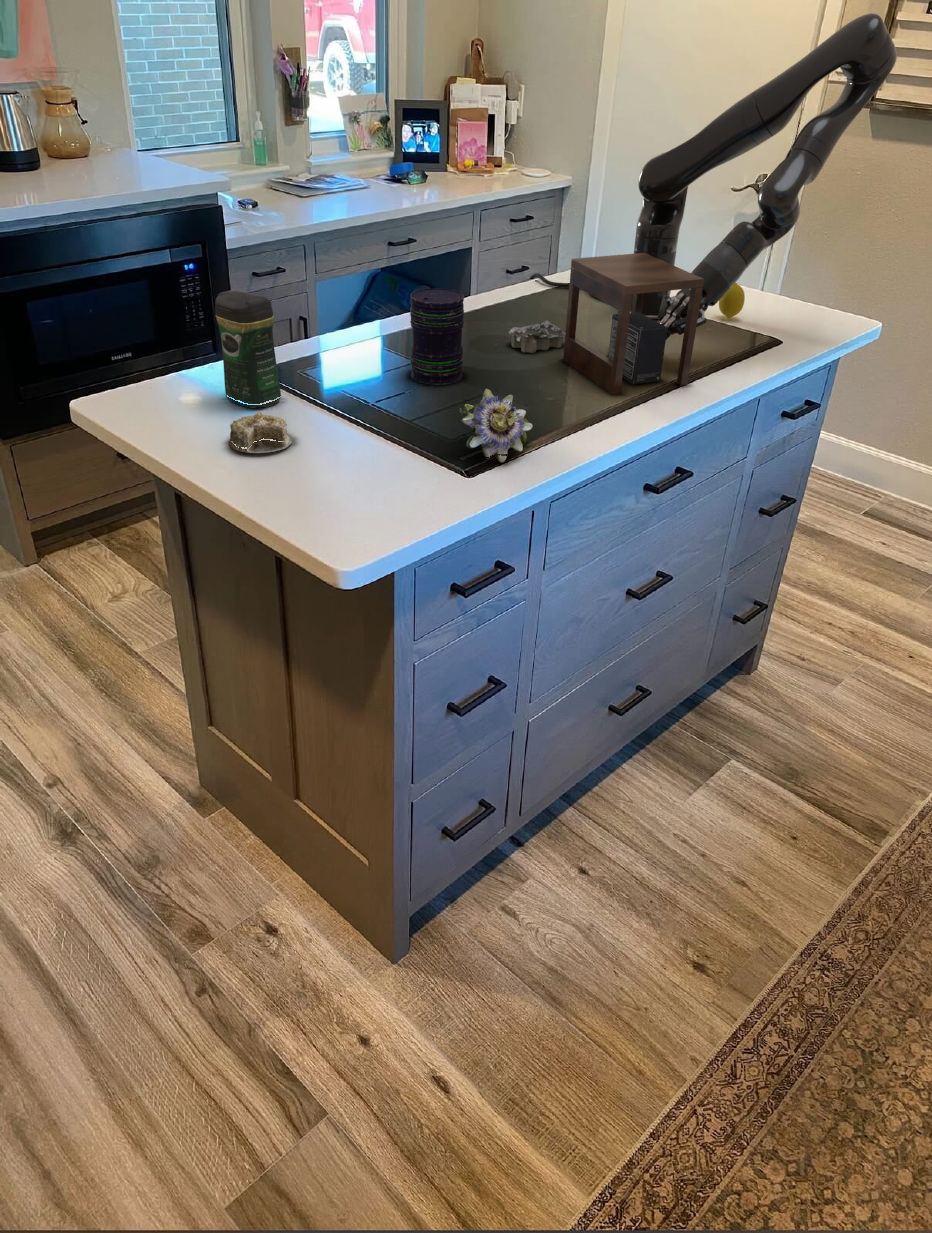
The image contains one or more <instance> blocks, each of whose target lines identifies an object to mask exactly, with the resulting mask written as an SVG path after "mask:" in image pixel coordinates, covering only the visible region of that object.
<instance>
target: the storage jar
mask: <svg viewBox="0 0 932 1233" xmlns="http://www.w3.org/2000/svg"><path fill="white" fill-rule="evenodd" d="M410 301H411V302H410V309H409V310H410V311H409V312H410V313H409V316H410V321H409V322H410V327H411V334H412V335H411V347H410V364H411V365H410V366H411V374H410V376H411V378H412V379H413V380H414V381H416V382H417V383H421V384H425V385H432V386H433V385H436V386H441V385H449V384H454V383H457V382H459V381H460V380H461V379H462V378H463V373H462V369H463V363H464V356H463V355H464V348H463V346H462V342H463V341H462V340H463V338H462V337H463V336H462V335H463V328H464V324H465V321H464V317H465V309H464V301H465V295H464V294H463V293H462V292H461V291H458V290H455V289H450V288H440V287H439V288H438V287H435V288H434V287H433V288H431V287H430V288H429V287H428V288H422V289H418V290H415V291H413V292H411V293H410Z"/></svg>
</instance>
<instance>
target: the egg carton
mask: <svg viewBox="0 0 932 1233" xmlns="http://www.w3.org/2000/svg"><path fill="white" fill-rule="evenodd" d="M565 333H566V331H563V329H562V328H559V327H558V326H557V325H555V324H552V323H551V322H550V321H549V320H545V321H542V322H540V323H535V324H532V323H531V324H529V325H525V326H522V327H518V326H514V327H512V328H510V330H509V331H508V335H511V341H510V342H511V344H510V345H511V347H512V348H514V349H515V348H517V349H521V350H520V351H521V352H522V353H530V354H534V353H536V352H537V351H539V350H540V351H541V350H542V351H547V350H549V349H550V348H557V349H559V348H562V346H563V338H565Z"/></svg>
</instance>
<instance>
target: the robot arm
mask: <svg viewBox="0 0 932 1233" xmlns="http://www.w3.org/2000/svg"><path fill="white" fill-rule="evenodd" d="M897 58H898V52H897V49H896V45H895V43H894V41H893V39H892V37H891V35H890V31H889V30H888V28H887V26H886V24H885V22H884V19H883V18H882V17H881V15H879V14H877V13H874V12H873V13H872V12H871V13H866V14H863V15H860V16H858V17H856V18H854V19H852V20H850V21H849V22H848V23H846V24H845V25H843V26H842V27H840V28H839V29H837V31H835V32H834V33H833V34H831V35H830V36H829V37H828V38H826V39H825V40H824V41H823V42H822V43H820V44H819V45H817V46H816V47H815V48H814V49H813V50H811V51H810V52H809V53H807V54H806V55H805V56H804V57H802V58H801V59H800V60H798V61H797V62H795V63H794V64H792V65H791V66H790V67H788V68H787V69H785V70H784V71H782V72H780V74H778V75H777V76H775V77H774V78H772V79H771V80H769V81H768V82H766V83H765V84H763V85H761V86H759V87H758V88H756V89H754V90H753V91H752V92H750V93H749V94H747V95H746V96H743V97H742V98H741V99H739V100H738V101H737V102H734V104H733V105H731V106H730V107H729V108H727V109H726V110H724V111H723V112H722V113H721V114H720V115H718V116H717V117H716V118H714V119H713V120H712V121H710V123H708V124H706V126H705V127H704V128H703V129H701V130H700V131H699V132H698V133H697V134H695V135H693V136H692V137H691V138H689V139H688V140H686V141H684V142H682V143H681V144H679V145H677V146H676V147H673V148H671V149H670V150H668V151H665V152H661V153H659V154H657V155H656V156H653V157H652V158H650V159H649V160H648V161H647V162H646V163H645V164H644V165H643V167H642V168H641V171H640V173H639V176H638V190H639V193H640V195H641V196H642V197H643V200H642V206H641V210H640V214H639V216H638V219H637V222H636V228H635V239H634V245H633V246H634V248H633V254H636V253H646V254H649V255H651V256H653V257H655V258H658V259H660V260H662V261H664V262H667V263H669V264H671V265H674V266H675V264H676V257H677V249H678V242H679V237H680V236H679V234H680V229H681V225H682V222H683V219H684V214H685V207H686V202H687V195H688V190H689V186H690V185H691V184H693V183H694V182H696V181H697V180H698V179H699V178H701V177H702V176H704V175H705V174H707V173H708V172H710V171H712V170H713V169H715V168H718V167H720V166H722V165H723V164H724V165H725V163H728V162H730V161H733V159H737V158H738V157H740V156H742V155H745V154H746V153H748V152H749V151H751V150H753V149H755V148H757V147H759V146H760V145H762V144H763V143H765V142H767V141H768V140H770V139H772V138H773V137H774V136H776V135H777V134H779V133H780V132H782V131H783V130H784V129H785V128H786V127H787V126H788V124H789V123H790V122H791V120H792V119H793V118H794V116H795V114H796V113H797V111H798V110H799V108H800V107H801V105H802V103H803V102H804V100H805V99H806V97H807V95H808V94H809V93H810V91H812V89H813V88H814V87H815V86H816V85H817V84H818V83H819V82H821V81H822V80H824V79H825V78H826V77H828V76H829V75H831V74H832V73H833V72H835V71H836V70H838V69H839V68H840V69H841V72H842V74H843V76H844V78H845V80H846V81H845V84H844V86H843V89H842V91H841V93H840V94H839V97H838V98H837V100H836V101H835V102H834V103H833V104H832V105H831V106H830V107H828V108H827V109H825V110H824V111H822V112H820V113H819V114H817V115H815V116H814V117H813V118H811V119H810V120H809V121H808V122H807V123H806V124H805V125H804V126H803V127H802V129H801V130H800V131H799V133H798V134H797V136H796V137H795V139H794V141H793V143H792V145H791V146H790V148H789V150H788V152H787V153H786V155H785V158H784V159H783V160H782V161H781V162H779V164H778V165H777V166H776V167H775V168H774V170H773V171H772V172H771V173H770V174H769V175H768V176H767V178H765V180H764V181H763V183H762V185H761V187H760V189H759V192H758V195H757V206H758V211H759V214H758V215H757V217H756V218H754V219H753V221H751V222H750V221H746V220H744V221H740V222H738V223H737V224H736V225H735V226H734V227H733V228H732V229H731V230H730V231H729V232H728V234H726V235H725V237H724V238H723V239H722V240H721V241H720V242H719V243H718V244H717V245H716V246H715V247H714V248H712V249H711V250H710V251H709V252H708V253H707V255H706V256H705V257H704V258H703V259H702V260H701V261H700V262H699V263H698V264H697V266H696V267H695V268H694V269H693V270H692V271H691V272H690V273H692V274H694V275H696V276H699V277H701V278H703V279H704V283H703V290H702V296H701V302H700V308H699V315H698V321H697V327H696V328H698V327H700V326H703V325H704V324H707V322H708V319H707V318H706V317H705V312H706V311H707V310H708V308H709V307H714V306H715V305H717V303H719V300H720V299H721V298H722V297H723V296H724V294H725V293H726V292H727V291H728V290H729V289H730V288H731V287H732V286H733V285H734V284H735V283H737V282H738V280H739V279H740V278H741V277H742V275H743V274H744V272H745V271H746V270H747V269H749V267H750V265H752V264H753V262H754V261H755V260H756V259H757V258H758V257H759V255H761V253H762V252H763V251H764V250H766V249H768V248H769V247H771V246H773V245H774V244H775V243H776V242H778V241H780V239H782V238H783V237H785V236H786V235H787V234H789V232H790V231H791V230H792V229H793V228H794V226H795V225H796V223H797V222H798V220H799V218H800V214H801V206H800V199H799V194H800V192H801V190H802V188H803V187H804V186H807V185H810V184H811V183H813V182H814V181H815V180H816V179H817V178H818V176H819V174H820V173H821V171H822V169H823V167H824V166H825V164H826V163H827V162H828V159H829V157H830V156H831V154H832V152H833V150H834V149H835V147H836V145H837V144H838V142H839V141H840V139H841V137H842V136H843V134H844V133H845V132H846V130H847V129H848V128H849V126H850V125H852V123H853V122H854V121H855V119H856V117H857V116H858V115H859V114H860V113H861V112H862V110H864V108H865V107H866V106H867V104H868V103H869V102H870V101H871V99H872V97H874V95H875V94H876V92H878V90H879V89H880V88H881V86H882V85H883V84H884V83H885V81H886V80H887V78H888V77H889V76H890V74H891V72H892V71H893V69H894V67H895V65H896V62H897ZM536 278H538V279H539V280H540V281H541V282H542V283H544V284H545V285H548V286H551V287H557V288H569V285H570V282H558V281H557V282H556V281H551V280H549V279H547V278H546V277H544V276H543V275H542V274H541V273H538V272H534V273H532V275H530V277H529V278H528V279H529V280H534V279H536ZM690 291H691V289H681V290H678V292H676V294H675V295H672V296H671V292H672V290H671V291H661V292H650V293H644V296H643V304H642V312H641V314H643V315H645V316H647V317H649V318H651V319H653V320H658V322H659V323H660V324H662V325H664V326H666V327H668V330H667V336H666V341H667V340H668V339H669V338H670V337H671V336H672V335H675V334H678V335H679V336H681V335H684V330H685V323H686V317H687V310H688V304H689V297H690ZM632 300H633V294H632ZM599 301H600V302H603V301H601V300H599ZM603 303H604V302H603ZM631 309H632V302H631ZM630 313H631V310H630Z"/></svg>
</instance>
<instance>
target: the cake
mask: <svg viewBox="0 0 932 1233" xmlns="http://www.w3.org/2000/svg"><path fill="white" fill-rule="evenodd" d="M286 421H287V420H285V419H284V418H282V417H279V416H277V415H272V414H262V412H257V413H256V414H253V415H246V416H242V417H241V418H238V419H237V420H233V421H232V423H231V424H230V425H229V426H230V432H229V437H230V438H229V441H228V446H229V447H230V448H231V449H233V450H234V451H236V452H241V453H244V454H245V453H247V454H267V453H274V452H278V451H281V450H285V449H287V448H288V447H289V446H290V445H292V443H293V440H292V438H291V437H290V436H289V435H288V430H287V426H288V424H287V422H286ZM286 437H287V438H286ZM263 438H264V439H273V440H276V441H270V440H261V439H263ZM285 439H286V441H285ZM259 440H261V441H259ZM231 441H233V443H234V444H236V446H237V447H236V446H235V445H234V444H233V443H232V442H231ZM254 441H257V442H254ZM278 441H285V442H278ZM253 442H254V443H253ZM251 445H252V446H251ZM250 446H251V447H250ZM238 447H239V448H238ZM241 447H244V448H245V447H247V449H248V448H249V447H250V448H249V449H248V450H247V449H242V448H241Z"/></svg>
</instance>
